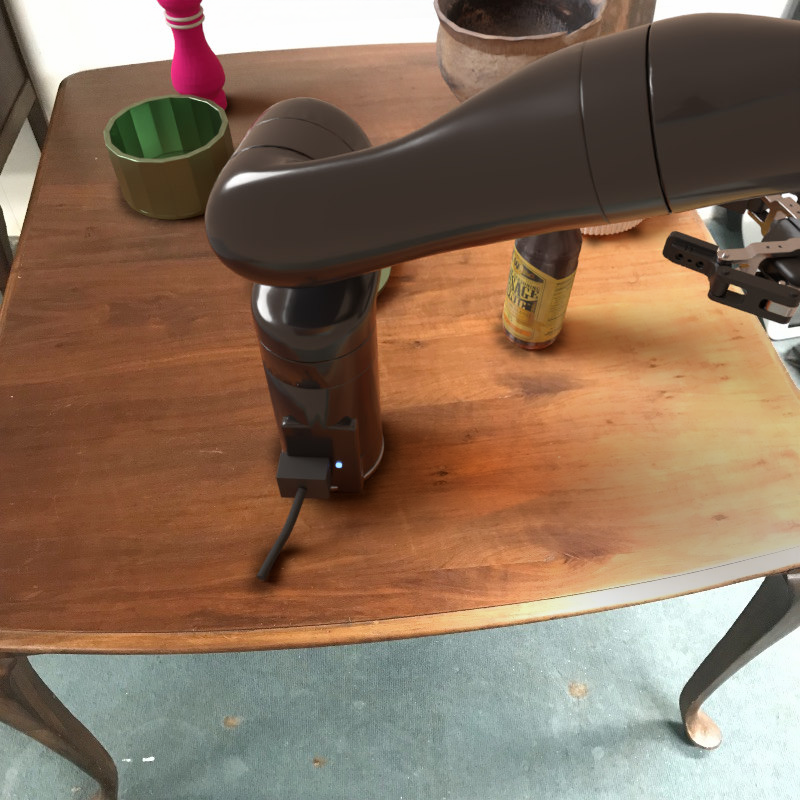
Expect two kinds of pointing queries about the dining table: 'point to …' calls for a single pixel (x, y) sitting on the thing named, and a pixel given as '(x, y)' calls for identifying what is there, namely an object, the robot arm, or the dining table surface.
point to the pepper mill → (193, 53)
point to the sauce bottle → (540, 287)
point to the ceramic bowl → (507, 36)
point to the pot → (169, 153)
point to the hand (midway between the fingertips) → (686, 213)
